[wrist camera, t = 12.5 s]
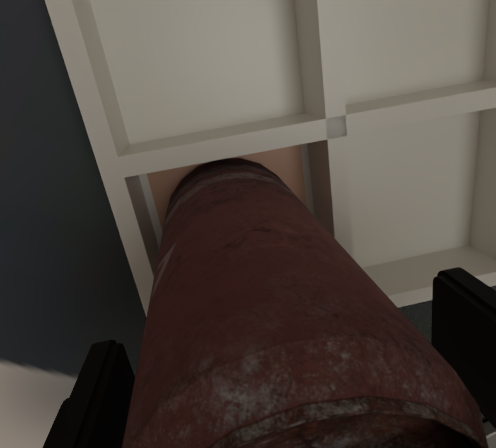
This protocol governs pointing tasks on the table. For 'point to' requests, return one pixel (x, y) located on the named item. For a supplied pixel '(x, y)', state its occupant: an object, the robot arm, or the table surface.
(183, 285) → the can
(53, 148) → the table surface
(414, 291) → the divided tray
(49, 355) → the table surface
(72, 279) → the table surface
